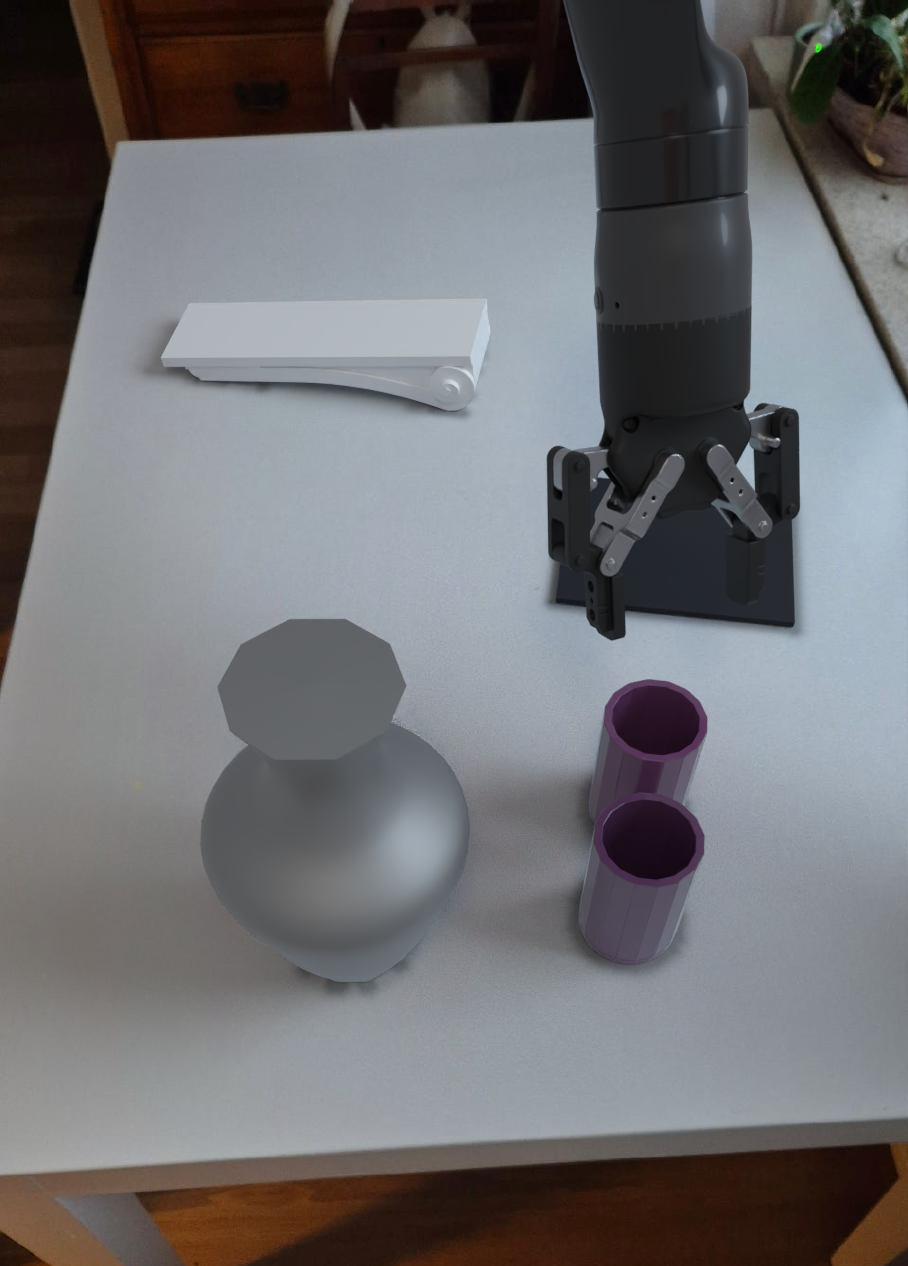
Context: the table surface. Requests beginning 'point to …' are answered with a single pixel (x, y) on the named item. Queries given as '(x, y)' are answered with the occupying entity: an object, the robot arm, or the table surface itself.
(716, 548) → the mat
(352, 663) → the vase
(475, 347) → the wall bracket
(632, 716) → the plum cup
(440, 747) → the table surface
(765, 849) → the table surface
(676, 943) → the table surface
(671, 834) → the plum cup
